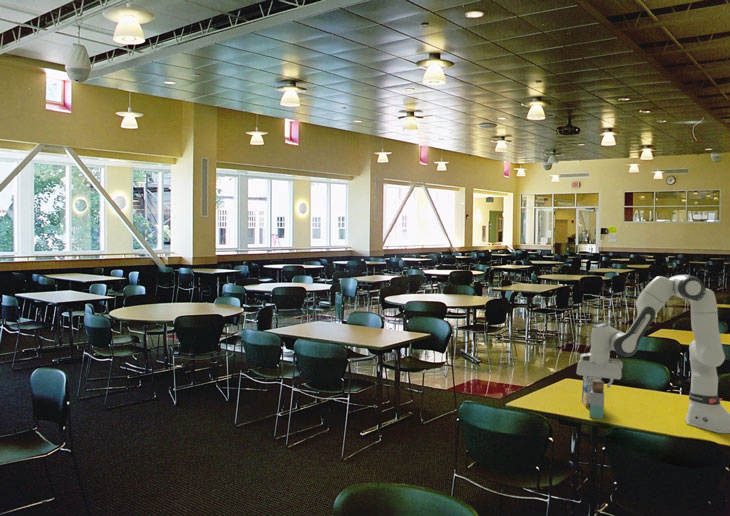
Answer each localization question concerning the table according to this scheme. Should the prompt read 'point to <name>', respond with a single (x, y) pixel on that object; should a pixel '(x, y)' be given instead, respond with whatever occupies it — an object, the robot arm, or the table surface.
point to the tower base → (596, 411)
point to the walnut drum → (598, 386)
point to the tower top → (597, 399)
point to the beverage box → (588, 390)
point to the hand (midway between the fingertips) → (598, 386)
